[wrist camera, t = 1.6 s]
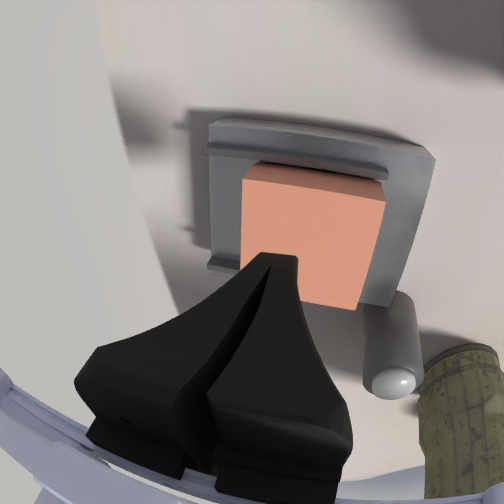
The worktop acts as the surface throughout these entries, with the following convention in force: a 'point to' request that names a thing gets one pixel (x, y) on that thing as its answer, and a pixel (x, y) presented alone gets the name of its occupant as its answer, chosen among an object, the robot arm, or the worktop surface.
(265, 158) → the socket plate
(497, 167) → the worktop surface
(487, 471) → the green stone statue
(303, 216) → the orange square block
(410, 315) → the plug
